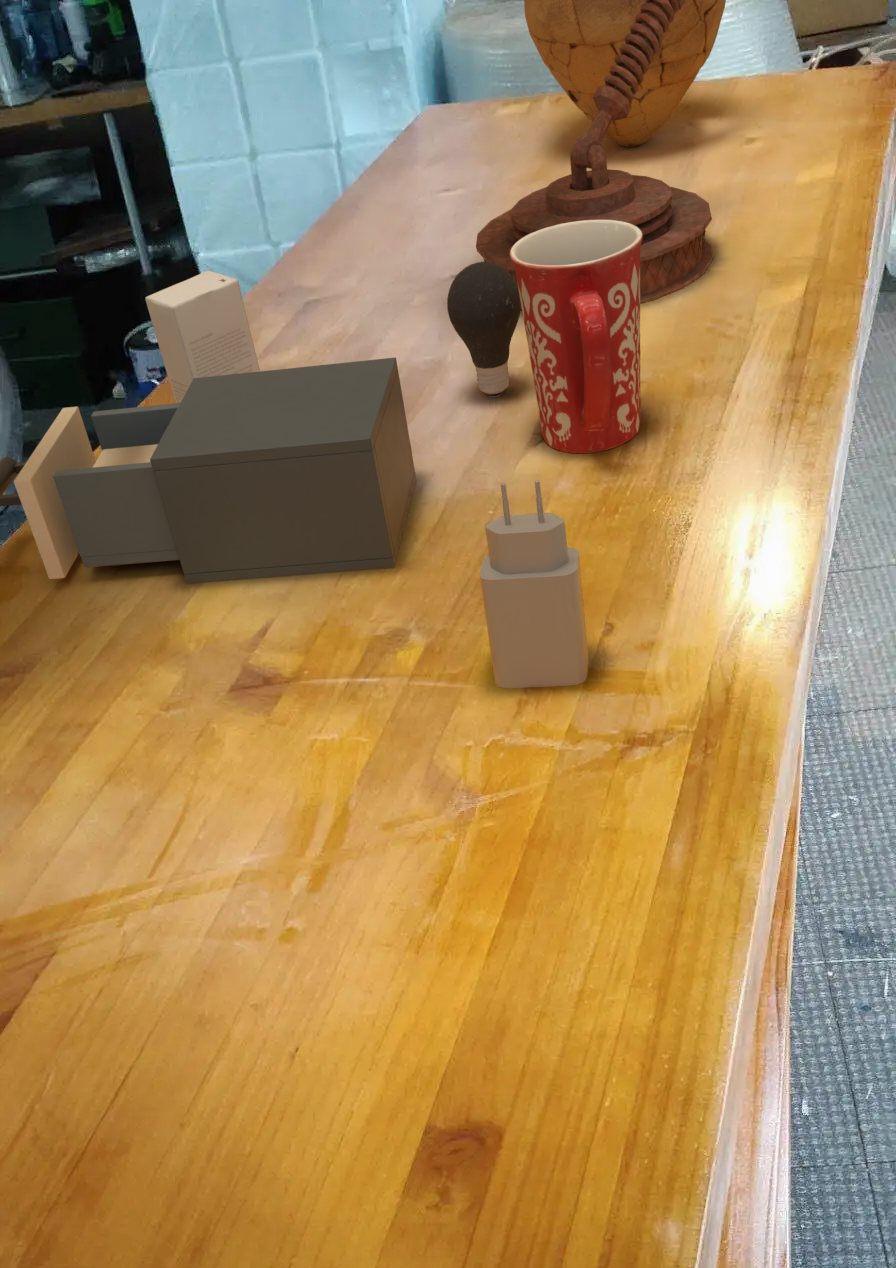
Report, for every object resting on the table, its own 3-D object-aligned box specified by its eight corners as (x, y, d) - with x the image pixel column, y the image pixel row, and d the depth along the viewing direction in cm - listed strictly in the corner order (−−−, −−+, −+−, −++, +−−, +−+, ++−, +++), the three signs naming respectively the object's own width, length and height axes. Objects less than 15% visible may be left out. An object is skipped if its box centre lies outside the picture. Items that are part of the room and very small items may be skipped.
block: (104, 536, 103) (85, 477, 100) (121, 506, 106) (102, 449, 103) (164, 531, 102) (146, 472, 99) (178, 501, 106) (162, 443, 103)
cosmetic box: (246, 421, 119) (209, 268, 111) (276, 433, 117) (240, 278, 108) (185, 450, 117) (142, 295, 109) (213, 463, 114) (172, 306, 106)
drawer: (-17, 585, 103) (-56, 487, 98) (32, 507, 111) (-1, 413, 106) (234, 564, 100) (207, 463, 95) (266, 486, 108) (243, 389, 103)
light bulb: (450, 411, 115) (431, 279, 108) (472, 380, 119) (455, 251, 112) (519, 411, 113) (503, 277, 106) (539, 380, 117) (525, 248, 110)
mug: (526, 415, 112) (506, 229, 103) (644, 398, 112) (635, 209, 102) (536, 490, 103) (514, 294, 94) (664, 472, 102) (656, 272, 93)
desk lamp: (374, 318, 132) (274, -252, 104) (620, 202, 145) (589, -332, 117) (536, 365, 119) (471, -270, 92) (790, 233, 132) (799, -357, 105)
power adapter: (586, 685, 85) (568, 491, 77) (493, 689, 86) (466, 499, 78) (589, 655, 87) (572, 464, 79) (499, 660, 88) (473, 472, 80)
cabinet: (186, 585, 101) (149, 459, 94) (225, 498, 109) (193, 378, 103) (394, 568, 98) (370, 438, 92) (416, 481, 107) (396, 357, 101)
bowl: (520, 140, 165) (499, -73, 151) (694, 103, 165) (689, -112, 152) (564, 192, 149) (545, -40, 136) (756, 151, 150) (756, -83, 136)
